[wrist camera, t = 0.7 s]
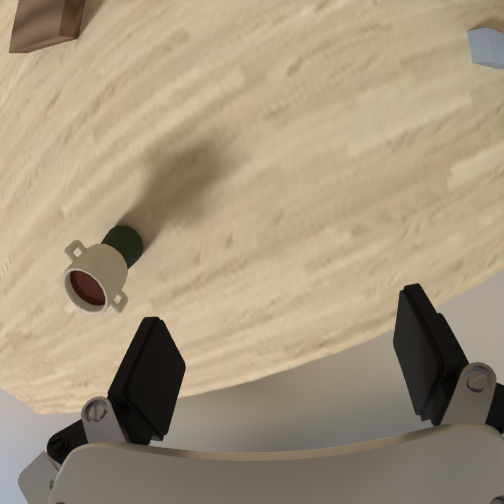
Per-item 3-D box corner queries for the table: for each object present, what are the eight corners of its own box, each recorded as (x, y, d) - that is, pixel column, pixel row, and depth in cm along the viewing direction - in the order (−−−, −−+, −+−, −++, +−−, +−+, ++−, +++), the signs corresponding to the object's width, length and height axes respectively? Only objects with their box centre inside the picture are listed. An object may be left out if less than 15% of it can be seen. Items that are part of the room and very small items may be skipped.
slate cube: (466, 31, 23) (486, 27, 18) (490, 38, 22) (510, 36, 18) (472, 62, 25) (493, 62, 21) (495, 68, 24) (516, 69, 20)
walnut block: (40, -4, 22) (21, -9, 18) (91, -23, 22) (73, -32, 18) (29, 53, 28) (8, 53, 23) (79, 38, 28) (58, 35, 23)
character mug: (91, 226, 41) (43, 270, 30) (119, 202, 39) (68, 243, 28) (134, 278, 45) (99, 332, 34) (164, 259, 43) (130, 314, 32)
